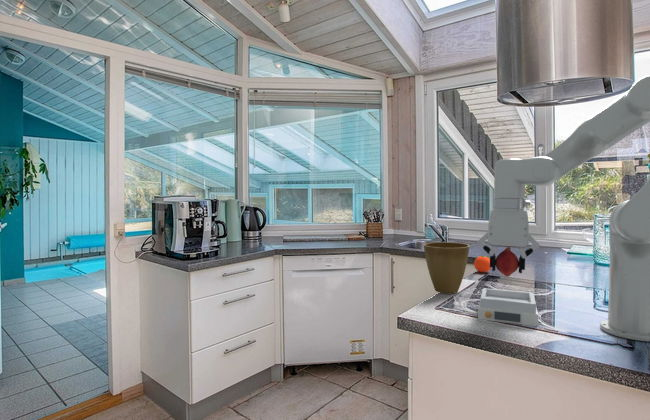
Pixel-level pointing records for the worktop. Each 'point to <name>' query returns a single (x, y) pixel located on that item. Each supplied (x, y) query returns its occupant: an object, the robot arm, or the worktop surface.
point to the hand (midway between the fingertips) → (506, 270)
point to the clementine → (482, 264)
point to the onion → (507, 262)
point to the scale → (508, 307)
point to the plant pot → (446, 265)
